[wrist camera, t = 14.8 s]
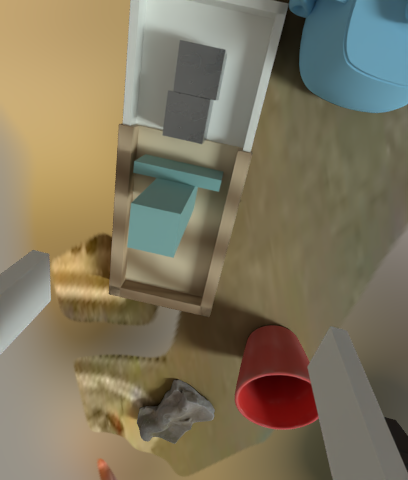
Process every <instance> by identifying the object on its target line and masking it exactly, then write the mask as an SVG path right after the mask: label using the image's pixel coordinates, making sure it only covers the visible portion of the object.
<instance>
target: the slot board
mask: <svg viewBox="0 0 408 480" xmlns="http://www.w3.org/2000/svg"><path fill="white" fill-rule="evenodd" d="M162 134H163V130H160V129H155V128H151V127H146V126H142V125H137V124H136V125H132V126H128V125H123V124H119V133H118V148H117V165H116V182H115V183H116V184H115V200H114V201H115V202H114V216H113V233H112V250H111V267H110V284H109V294H110V295H115V296H119V297H123V298H128V299H132V300H136V301H141V302H145V303H149V304H154V305H158V306H162V307H167V308H171V309H176V310H180V311H184V312H189V313H193V314H197V315H202V316H206V317H210V313H211V309H212V305H213V302H214V298H215V294H216V290H217V286H218V283H219V279H220V275H221V271H222V267H223V264H224V260H225V256H226V252H227V248H228V245H229V241H230V237H231V233H232V229H233V226H234V222H235V218H236V214H237V210H238V206H239V203H240V199H241V195H242V191H243V187H244V184H245V180H246V176H247V172H248V168H249V165H250V161H251V157H252V150H251V152H245V151H243V148H241V147H237V146H232V145H228V144H223V143H219V142H214V141H209V140H205V141H204V143H203V144H199V143H195V142H190V141H186V140H181V139H177V138H172V137H168V136H163V135H162ZM145 154H147V155H152V156H156V157H161V158H165V159H170V160H174V161H178V162H183V163H187V164H192V165H196V166H201V167H205V168H210V169H214V170H219V171H223V176H222V181H221V185H220V189H219V192H217V191H213V190H208V189H204V188H199V187H198V190H197V195H196V200H195V205H194V210H193V212H192V215H191V217H190V219H189V222H188V224H187V227H186V229H185V231H184V234H183V236H182V238H181V241H180V243H179V246H178V248H177V250H176V253H175V255H174V258H172V257H168V256H164V255H159V254H155V253H150V252H146V251H142V250H137V249H133V248H128V247H127V243H128V232H129V220H130V209H131V203H132V202H133V201H134V200H135V199H136V198H137V197H138V196H139V195H140V194H141V193H142V192H143V191H144V190H145V189H146V188H147V187H148V186H149V185H150V184H151V183H152V182H153V181H154V180H155V179H156V178H155V177H150V176H146V175H141V174H137V173H133V170H134V161H135V160H137V159H139V158H140V157H142V156H144V155H145Z"/></svg>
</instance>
